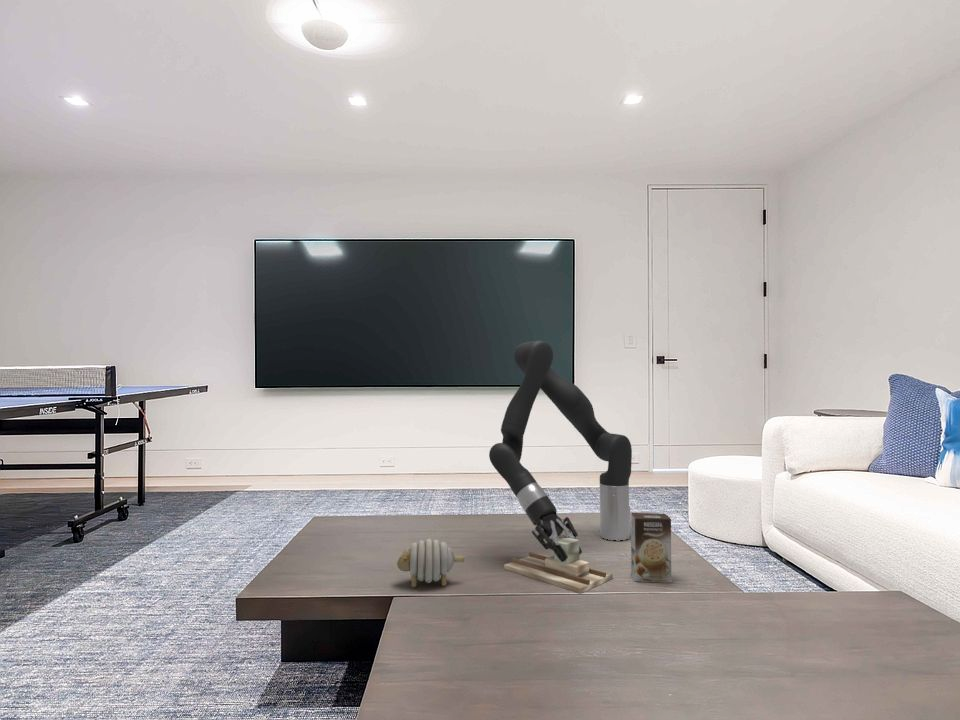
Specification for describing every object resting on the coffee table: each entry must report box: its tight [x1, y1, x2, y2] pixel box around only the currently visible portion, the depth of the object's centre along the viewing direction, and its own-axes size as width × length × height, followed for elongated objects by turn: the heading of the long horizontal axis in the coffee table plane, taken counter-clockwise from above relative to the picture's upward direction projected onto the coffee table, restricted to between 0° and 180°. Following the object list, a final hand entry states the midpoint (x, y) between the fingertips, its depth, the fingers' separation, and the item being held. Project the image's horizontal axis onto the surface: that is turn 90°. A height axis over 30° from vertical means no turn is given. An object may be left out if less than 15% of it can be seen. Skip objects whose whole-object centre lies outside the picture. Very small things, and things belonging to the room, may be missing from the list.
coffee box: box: [630, 512, 673, 584], centre depth 147 cm, size 9×6×16 cm
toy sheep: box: [396, 538, 465, 588], centre depth 144 cm, size 11×17×11 cm, turn 100°
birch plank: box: [503, 551, 614, 594], centre depth 150 cm, size 14×25×2 cm, turn 45°
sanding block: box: [545, 536, 590, 577], centre depth 148 cm, size 6×10×8 cm, turn 45°
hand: (572, 557), depth 147 cm, fingers closed on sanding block, 5 cm apart
